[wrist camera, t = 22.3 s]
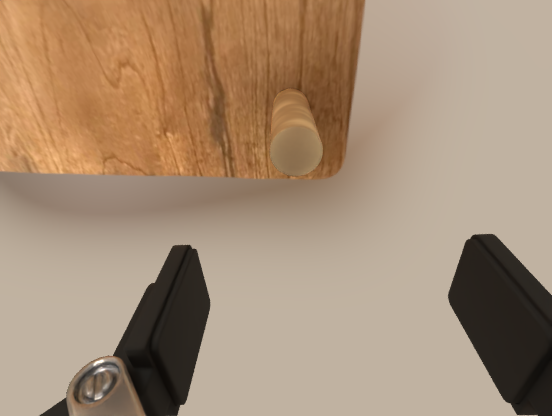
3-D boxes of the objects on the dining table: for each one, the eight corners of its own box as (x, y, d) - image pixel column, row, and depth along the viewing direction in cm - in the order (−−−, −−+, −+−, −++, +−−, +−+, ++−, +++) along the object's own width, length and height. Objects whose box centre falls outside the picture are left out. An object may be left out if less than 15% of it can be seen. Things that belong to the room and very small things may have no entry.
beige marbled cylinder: (308, 87, 30) (323, 124, 20) (308, 123, 32) (322, 175, 22) (271, 89, 30) (267, 128, 20) (273, 125, 32) (271, 178, 22)
